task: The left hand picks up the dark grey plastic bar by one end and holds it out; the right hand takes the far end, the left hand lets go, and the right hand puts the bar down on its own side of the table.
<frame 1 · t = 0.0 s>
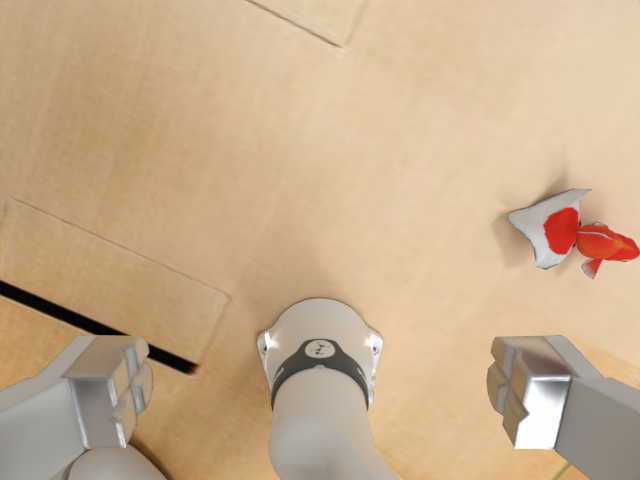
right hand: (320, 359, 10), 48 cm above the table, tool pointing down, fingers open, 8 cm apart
fish: (554, 226, 60), on the table
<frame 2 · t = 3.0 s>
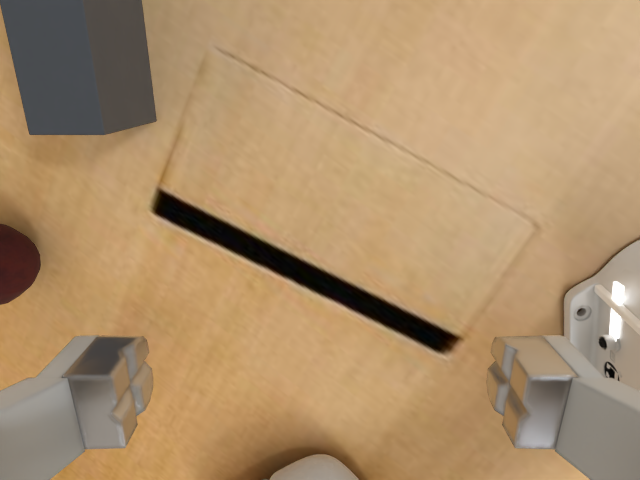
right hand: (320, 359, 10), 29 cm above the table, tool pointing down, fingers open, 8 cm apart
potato: (15, 248, 40), on the table
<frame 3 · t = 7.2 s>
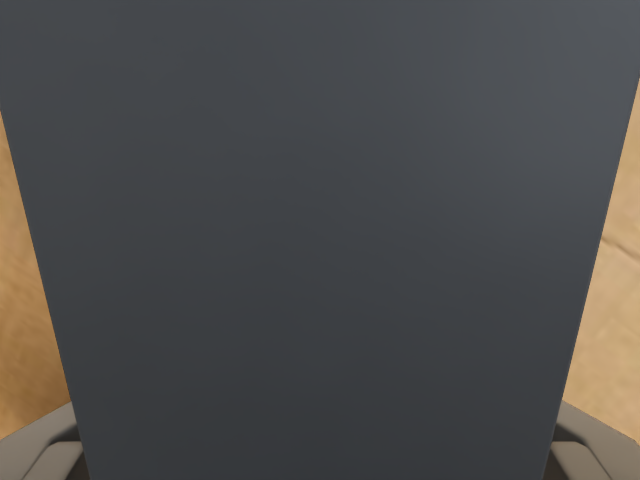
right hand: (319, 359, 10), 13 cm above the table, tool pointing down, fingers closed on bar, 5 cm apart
when the left hand's fingers open (9 cm above the table, at t = 8.1 s): bar stays where it is, held by the right hand.
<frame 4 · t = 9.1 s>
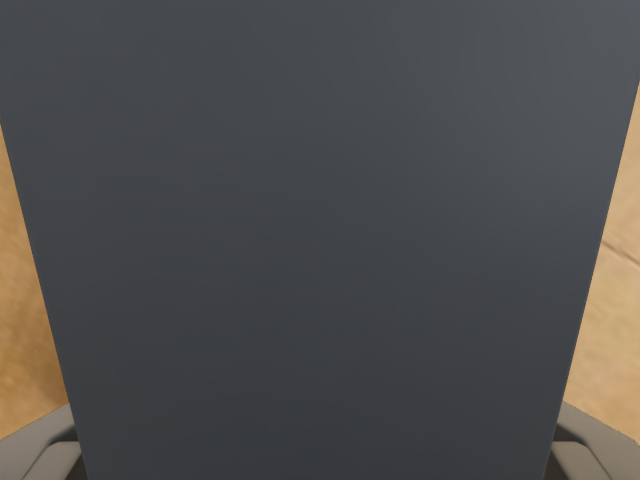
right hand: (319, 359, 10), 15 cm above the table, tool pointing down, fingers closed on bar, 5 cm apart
when the right hand's fingers open (5 cm above the table, at t = 12.7 s): bar stays where it is, on the table.
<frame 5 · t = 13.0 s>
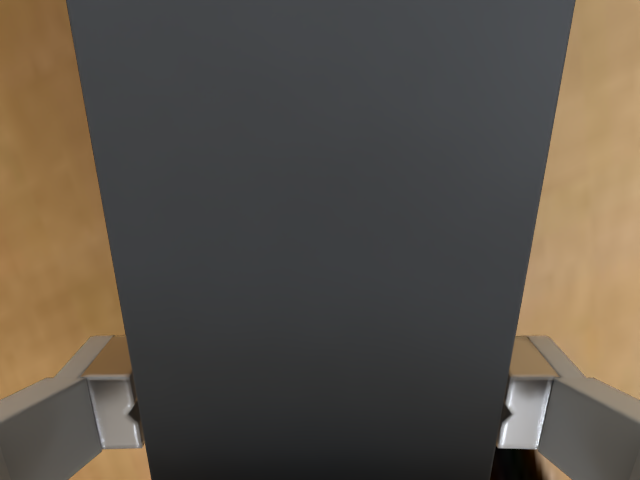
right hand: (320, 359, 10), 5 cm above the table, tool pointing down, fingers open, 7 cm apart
bar: (320, 12, 13), on the table
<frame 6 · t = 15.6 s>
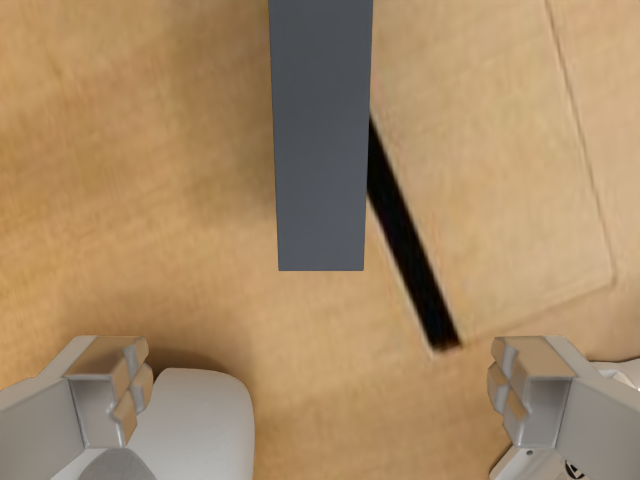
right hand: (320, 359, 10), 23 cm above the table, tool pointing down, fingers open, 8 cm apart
bar: (320, 51, 29), on the table
white arched housing: (179, 448, 41), on the table
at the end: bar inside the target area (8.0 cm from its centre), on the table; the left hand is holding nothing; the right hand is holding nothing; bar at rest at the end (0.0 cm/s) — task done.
